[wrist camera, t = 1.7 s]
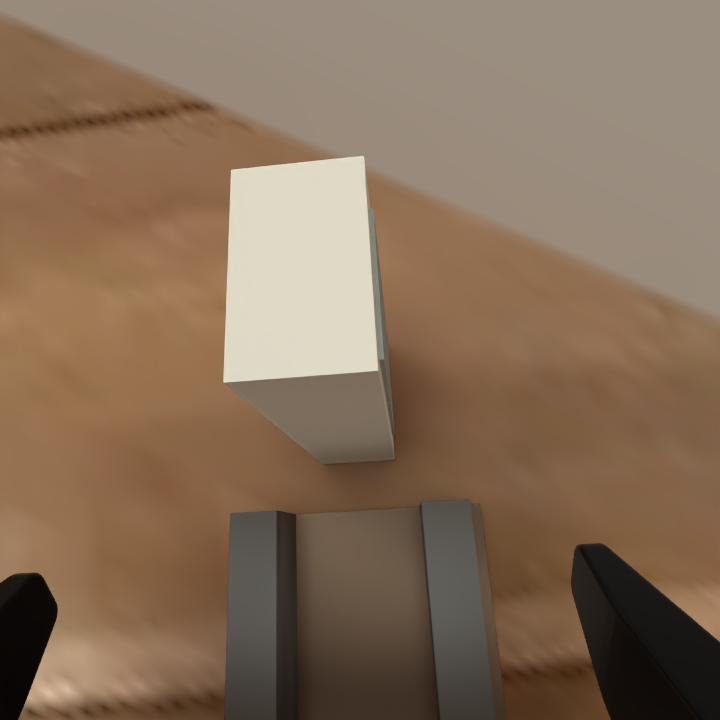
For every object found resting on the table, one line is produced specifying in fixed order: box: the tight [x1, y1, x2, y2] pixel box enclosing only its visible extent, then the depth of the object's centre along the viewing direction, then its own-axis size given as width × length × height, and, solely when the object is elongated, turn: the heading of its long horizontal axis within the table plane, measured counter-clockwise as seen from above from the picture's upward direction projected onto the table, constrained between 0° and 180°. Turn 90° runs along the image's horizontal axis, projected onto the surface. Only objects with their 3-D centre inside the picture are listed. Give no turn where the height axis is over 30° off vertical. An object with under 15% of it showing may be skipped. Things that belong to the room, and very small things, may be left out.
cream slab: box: [223, 156, 395, 464], centre depth 16 cm, size 5×3×12 cm, turn 3°
